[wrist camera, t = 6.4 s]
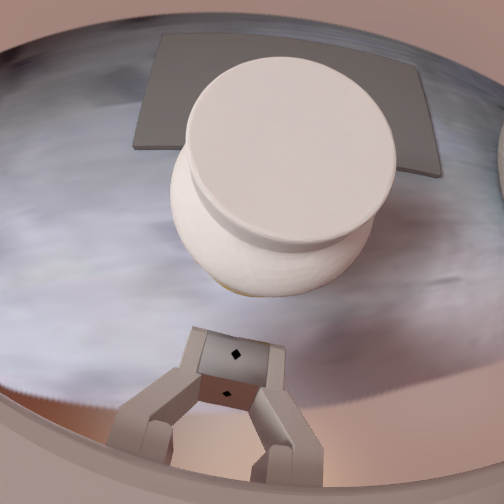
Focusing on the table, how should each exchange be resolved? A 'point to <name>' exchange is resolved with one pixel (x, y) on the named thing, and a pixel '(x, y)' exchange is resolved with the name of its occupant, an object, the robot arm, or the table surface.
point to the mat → (258, 46)
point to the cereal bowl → (501, 160)
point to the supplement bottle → (281, 176)
